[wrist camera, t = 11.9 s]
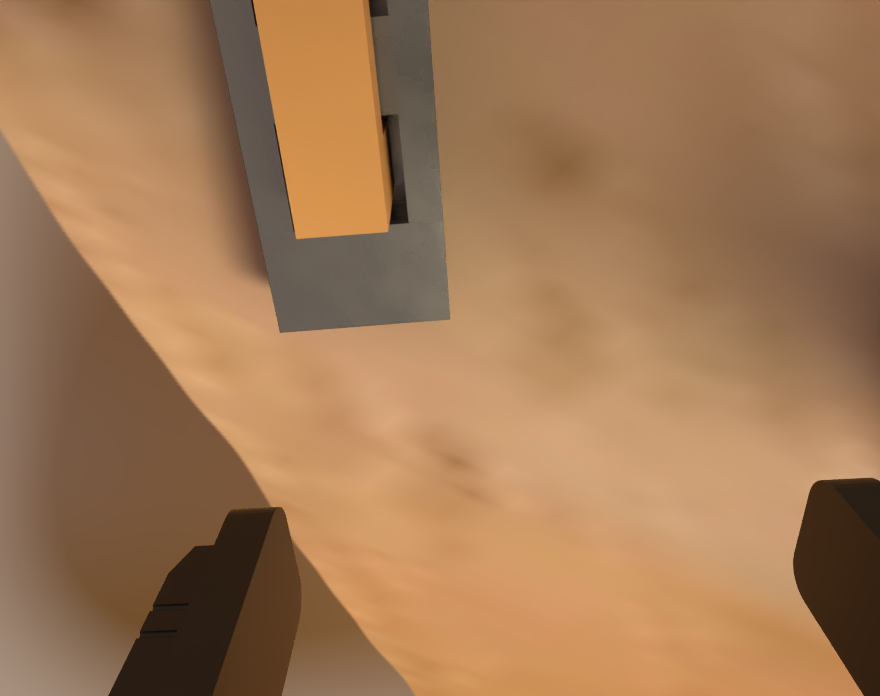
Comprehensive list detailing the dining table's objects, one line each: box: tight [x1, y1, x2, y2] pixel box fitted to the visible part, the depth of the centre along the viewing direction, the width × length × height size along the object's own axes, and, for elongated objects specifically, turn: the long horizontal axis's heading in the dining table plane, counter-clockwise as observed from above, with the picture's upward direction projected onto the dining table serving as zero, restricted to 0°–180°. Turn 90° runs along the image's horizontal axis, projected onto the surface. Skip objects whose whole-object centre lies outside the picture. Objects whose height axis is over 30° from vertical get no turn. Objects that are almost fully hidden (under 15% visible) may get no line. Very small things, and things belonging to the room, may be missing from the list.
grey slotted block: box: [210, 0, 450, 333], centre depth 27 cm, size 8×22×4 cm, turn 4°
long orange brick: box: [253, 0, 394, 239], centre depth 25 cm, size 4×11×8 cm, turn 4°
